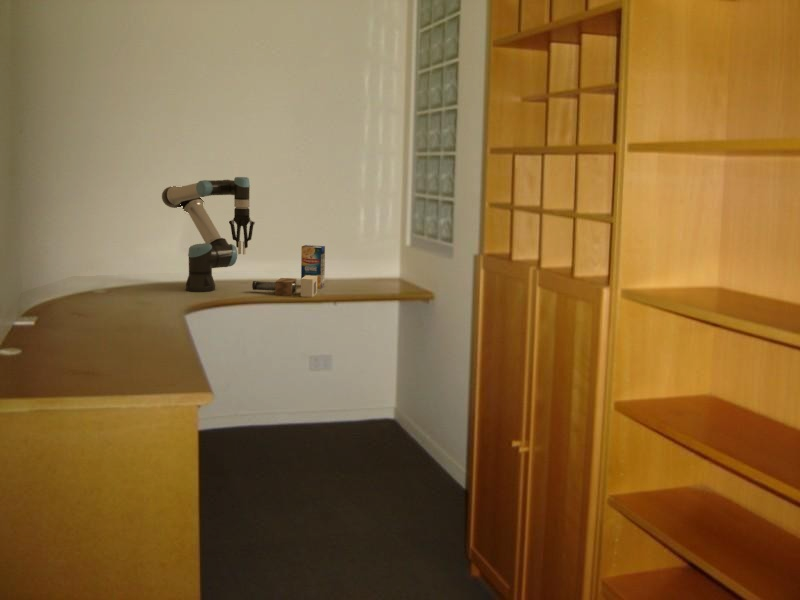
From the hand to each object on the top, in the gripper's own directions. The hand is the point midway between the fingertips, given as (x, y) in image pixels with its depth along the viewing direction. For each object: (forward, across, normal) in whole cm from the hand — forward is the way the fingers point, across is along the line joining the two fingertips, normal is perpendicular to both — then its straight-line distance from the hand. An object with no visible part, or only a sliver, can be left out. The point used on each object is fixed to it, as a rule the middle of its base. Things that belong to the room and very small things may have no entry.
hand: (242, 253), depth 466 cm
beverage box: (+20, +32, +24) cm, 45 cm away
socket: (+19, +35, 0) cm, 40 cm away
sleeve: (+19, +23, 0) cm, 30 cm away
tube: (+18, +17, 0) cm, 25 cm away
